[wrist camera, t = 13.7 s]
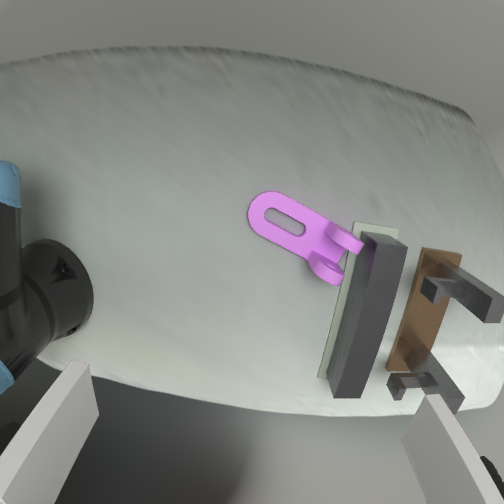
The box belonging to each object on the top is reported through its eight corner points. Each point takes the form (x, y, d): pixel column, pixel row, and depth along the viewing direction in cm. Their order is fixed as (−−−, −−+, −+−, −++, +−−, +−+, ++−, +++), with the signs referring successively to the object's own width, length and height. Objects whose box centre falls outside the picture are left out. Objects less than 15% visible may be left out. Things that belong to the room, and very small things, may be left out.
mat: (317, 376, 46) (317, 377, 46) (353, 221, 40) (354, 221, 39) (355, 377, 47) (356, 378, 46) (397, 228, 40) (398, 229, 39)
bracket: (351, 232, 40) (368, 247, 34) (329, 269, 42) (342, 289, 35) (262, 182, 39) (263, 187, 32) (240, 222, 40) (237, 235, 33)
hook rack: (368, 367, 46) (397, 429, 33) (404, 244, 40) (459, 281, 27) (420, 367, 46) (455, 421, 33) (458, 253, 41) (517, 287, 27)
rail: (326, 372, 46) (333, 398, 40) (361, 230, 40) (377, 242, 34) (350, 373, 46) (360, 398, 40) (388, 234, 40) (408, 247, 34)
